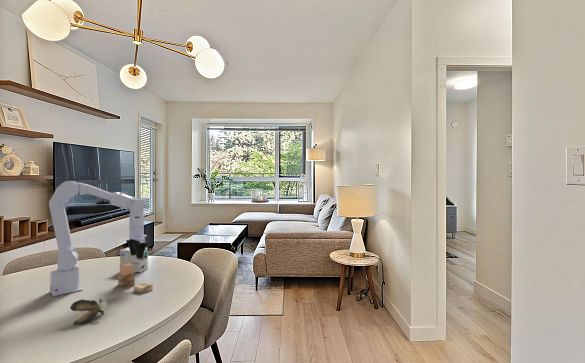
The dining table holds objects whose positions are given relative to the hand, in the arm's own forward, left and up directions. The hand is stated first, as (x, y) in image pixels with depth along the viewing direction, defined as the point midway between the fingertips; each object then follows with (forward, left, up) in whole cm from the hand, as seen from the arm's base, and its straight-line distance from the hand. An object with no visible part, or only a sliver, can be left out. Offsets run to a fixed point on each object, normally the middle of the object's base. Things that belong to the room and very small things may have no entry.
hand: (136, 256), depth 137 cm
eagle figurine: (-24, -29, -11) cm, 39 cm away
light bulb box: (+4, +16, -11) cm, 20 cm away
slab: (-3, -15, -11) cm, 19 cm away
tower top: (-5, -3, -8) cm, 10 cm away
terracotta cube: (-5, -3, -6) cm, 8 cm away
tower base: (-5, -3, -11) cm, 12 cm away
